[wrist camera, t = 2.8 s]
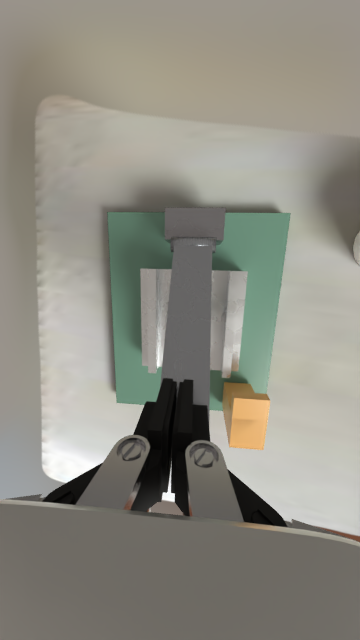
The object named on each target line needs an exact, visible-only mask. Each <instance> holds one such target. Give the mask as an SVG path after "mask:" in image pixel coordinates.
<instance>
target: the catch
mask: <svg viewBox="0 0 360 640" xmlns="http://www.w3.org/2000/svg"><path fill="white" fill-rule="evenodd" d="M269 406H270V399H269V397H268V395H267V394H261V393H255V392H254V390H253V388H252V386H251V384H246V383H230V382H224V388H223V401H222V407H223V413H224V419H225V424H226V430H227V436H228V442H229V447H235V448H246V449H257V450H263V449H264V442H265V435H266V428H267V421H268V413H269Z"/></svg>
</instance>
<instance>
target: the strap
mask: <svg viewBox="0 0 360 640" xmlns="http://www.w3.org/2000/svg"><path fill="white" fill-rule="evenodd" d="M170 249H171V252H173V262H172V272H171V282H170V292H169V302H168V312H167V322H166V332H165V342H164V352H163V362H162V373H161V383H160V387H161V384H162V381H163V378H171V379H173V381H177V397H178V390H179V383H180V382H183V381H184V379H188V380H193V404H194V405H207V409H208V421H209V403H210V347H211V291H212V253H215V252H216V237H173V236H171V240H170ZM176 404H177V398H176Z"/></svg>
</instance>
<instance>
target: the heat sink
mask: <svg viewBox="0 0 360 640" xmlns="http://www.w3.org/2000/svg"><path fill="white" fill-rule="evenodd" d="M225 212H226V208H165V240H166V241H167V242H168V243H169V244H170V240H171V236H173V237H216V245H220V244H221V243H222V242H223V240H224V227H225ZM171 272H172V269H140V274H141V332H142V366H148V373H157V370H158V368H159V367H162V362H163V352H164V342H165V332H166V322H167V312H168V302H169V292H170V282H171ZM247 274H248V271H218V270H212V291H211V347H210V370H220V371H221V376H222V378H230V376H231V371H237V372H238V368H239V357H240V347H241V337H242V326H243V316H244V306H245V295H246V285H247Z"/></svg>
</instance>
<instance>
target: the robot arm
mask: <svg viewBox="0 0 360 640" xmlns="http://www.w3.org/2000/svg"><path fill="white" fill-rule="evenodd" d="M176 398H177V404H176ZM171 461H172V473H171V493H175V503H176V504H177V506H178V507H179V508H180V510H181V511H182V512H183V516H181V515H171V514H161V513H152V512H150V508H151V507H152V506H153V505H154V504H155V503H157V502H161V500H162V493H163V492H166V493H167V491H168V484H169V476H170V468H171ZM0 640H360V542H358V541H355V540H352V539H350V538H347V537H344V536H341V535H338V534H335V533H332V532H329V531H326V530H323V529H320V528H317V527H314V526H311V525H308V524H305V523H302V522H299V521H296V520H293V519H292V520H291V523H290V522H287V521H284V520H283V518H282V517H281V516H280V515H279V514H278V513H277V512H276V510H274V509H273V508H272V507H271V506H270V505H269V504H267V503H266V502H265V501H264V500H263V499H262V498H260V497H259V496H258V495H257V494H256V493H255V492H253V491H252V490H251V489H250V488H249V487H248V486H246V485H245V484H244V483H243V482H242V481H241V480H239V479H238V478H237V477H236V476H235V475H234V474H232V473H231V472H230V471H229V470H228V469H227V467H226V464H225V461H224V457H223V454H222V452H221V450H220V449H219V448H218V447H217V446H216V445H215V444H213V443H212V442H210V434H209V421H208V409H207V405H194V404H193V380H188V379H184V381H183V382H180V383H179V390H178V397H177V381H173V379H171V378H163V381H162V384H161V387H160V390H159V394H158V397H157V400H156V402H150V401H147V402H146V403H145V405H144V408H143V411H142V413H141V416H140V419H139V421H138V424H137V427H136V429H135V432H134V434H133V435H130V436H126V437H124V438H122V439H121V440H119V441H118V442H117V443H116V444H115V445H114V447H113V448H112V450H111V452H110V453H109V455H108V456H107V458H106V459H105V461H104V462H103V463H101V464H100V465H98V466H96V467H94V468H93V469H91V470H89V471H87V472H85V473H84V474H82V475H80V476H78V477H77V478H75V479H73V480H71V481H70V482H68V483H66V484H64V485H62V486H61V487H59V488H57V489H55V490H54V491H53V492H51V493H50V494H49V495H48V496H47V497H44V498H42V494H39V495H31V496H24V497H17V498H10V499H0Z"/></svg>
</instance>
